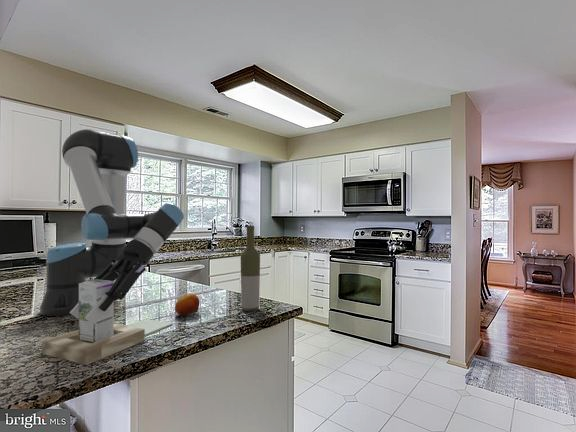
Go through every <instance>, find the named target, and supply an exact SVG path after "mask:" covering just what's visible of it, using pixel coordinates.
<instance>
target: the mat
mask: <svg viewBox="0 0 576 432" xmlns="http://www.w3.org/2000/svg"><path fill="white" fill-rule="evenodd" d="M170 325H171V326H173V322H167V321H162V320H161V321H160V320H155V319H148V318H147V319H146V318H145V319H142V320H139V321H136V322H133V323H130V324H128V325H126V326H129V327H135V328H140V329H145V337H147V336H149V335H151V334H154V333H156V332H158V331H161V330H164V329H166V328H168V327H167V326H169V327H171V326H170ZM165 327H166V328H165ZM163 328H164V329H163Z"/></svg>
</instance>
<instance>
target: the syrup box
mask: <svg viewBox="0 0 576 432" xmlns="http://www.w3.org/2000/svg"><path fill="white" fill-rule="evenodd" d="M114 282H115V280H114V281H108V280H94V279H91V280H86V282H82V283H79V319H78V330H79V340H80V341H85V342H88V343H91V344H92V343H94V342H97V341H100V340H102V339H105V338H108V337H111V336H113V335H114V324H115V323H114V320H115V319H114V314H115V311H114V306H115V305H114V304H115V303H114V302H115V301H114V302H113V303H112V304H111V305H110V306H109V308H108V309H107V310H106V311H105V312H104V313H103V315H102V316H101V317H100V318H99V319H98V321H97V322H96V323H95V324H92V323H90V322H89V321H88V320H86V319H85V317H86V315H87V314H88V313H89V312H90V311H91V310H92V309H93V307H94V306H95V305H96V304H97V303H98V302H99V300H100V299H101V298H102V297H103V296H104V295H106V294H105V292H109V291H110V289H111V287H112V286H113V284H114ZM106 296H107V295H106ZM107 297H108V296H107Z"/></svg>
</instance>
